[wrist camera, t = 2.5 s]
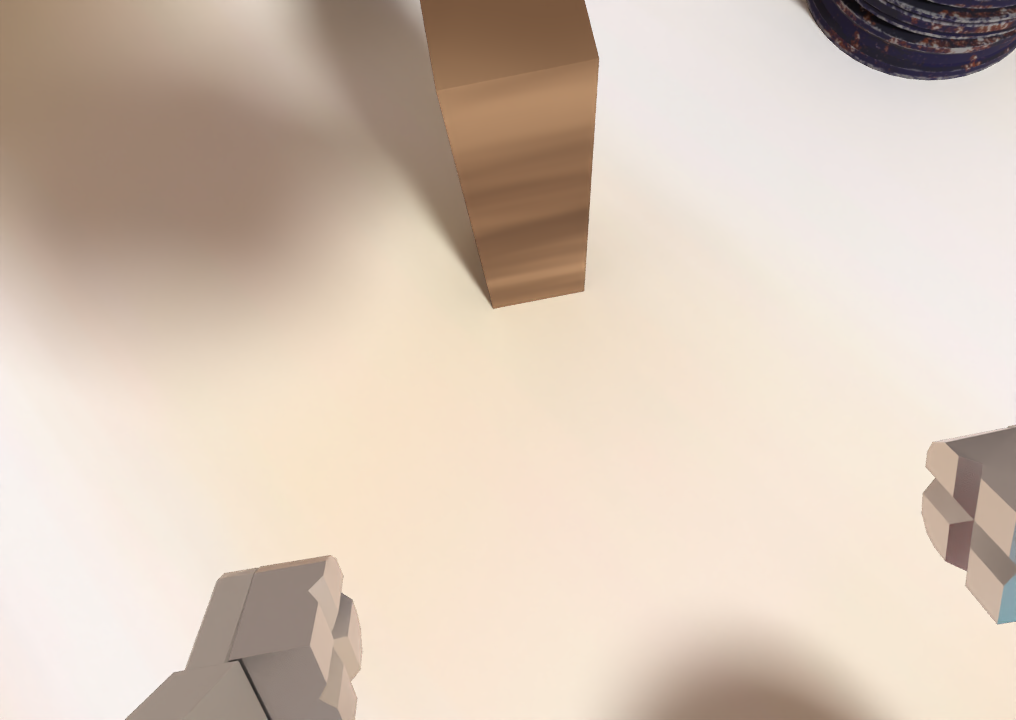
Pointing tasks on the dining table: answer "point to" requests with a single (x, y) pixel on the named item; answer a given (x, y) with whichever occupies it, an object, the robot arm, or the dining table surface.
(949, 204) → the dining table surface
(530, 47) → the rail
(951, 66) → the rusty blue barrel
